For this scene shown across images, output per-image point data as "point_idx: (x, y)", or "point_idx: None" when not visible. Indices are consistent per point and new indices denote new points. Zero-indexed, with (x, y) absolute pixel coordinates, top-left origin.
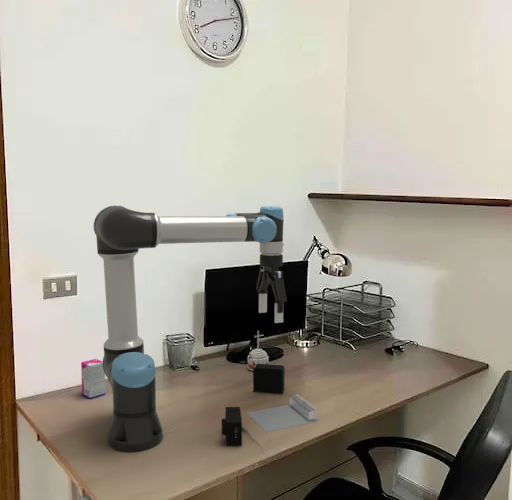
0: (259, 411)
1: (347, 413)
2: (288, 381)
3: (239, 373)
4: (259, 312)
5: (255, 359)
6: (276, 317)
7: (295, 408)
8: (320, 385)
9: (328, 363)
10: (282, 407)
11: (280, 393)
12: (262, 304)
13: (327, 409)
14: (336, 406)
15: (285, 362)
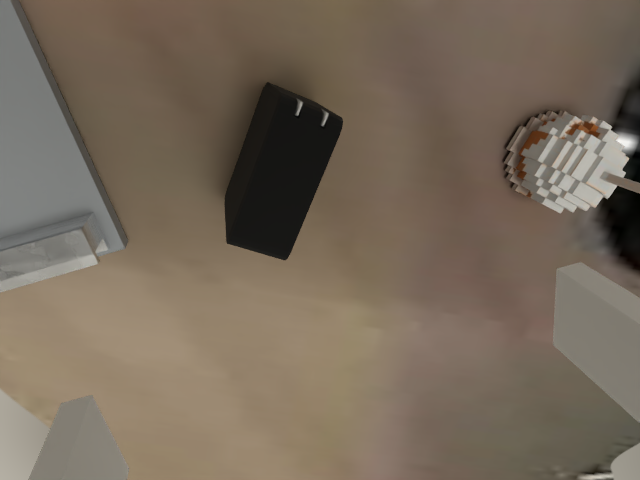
0: (28, 69)
1: (70, 390)
2: (385, 249)
3: (523, 64)
4: (562, 270)
5: (550, 149)
6: (42, 472)
7: (36, 230)
8: (324, 347)
9: (503, 397)
10: (77, 181)
11: (226, 198)
12: (636, 361)
13: (107, 337)
14: (133, 367)
15: None
